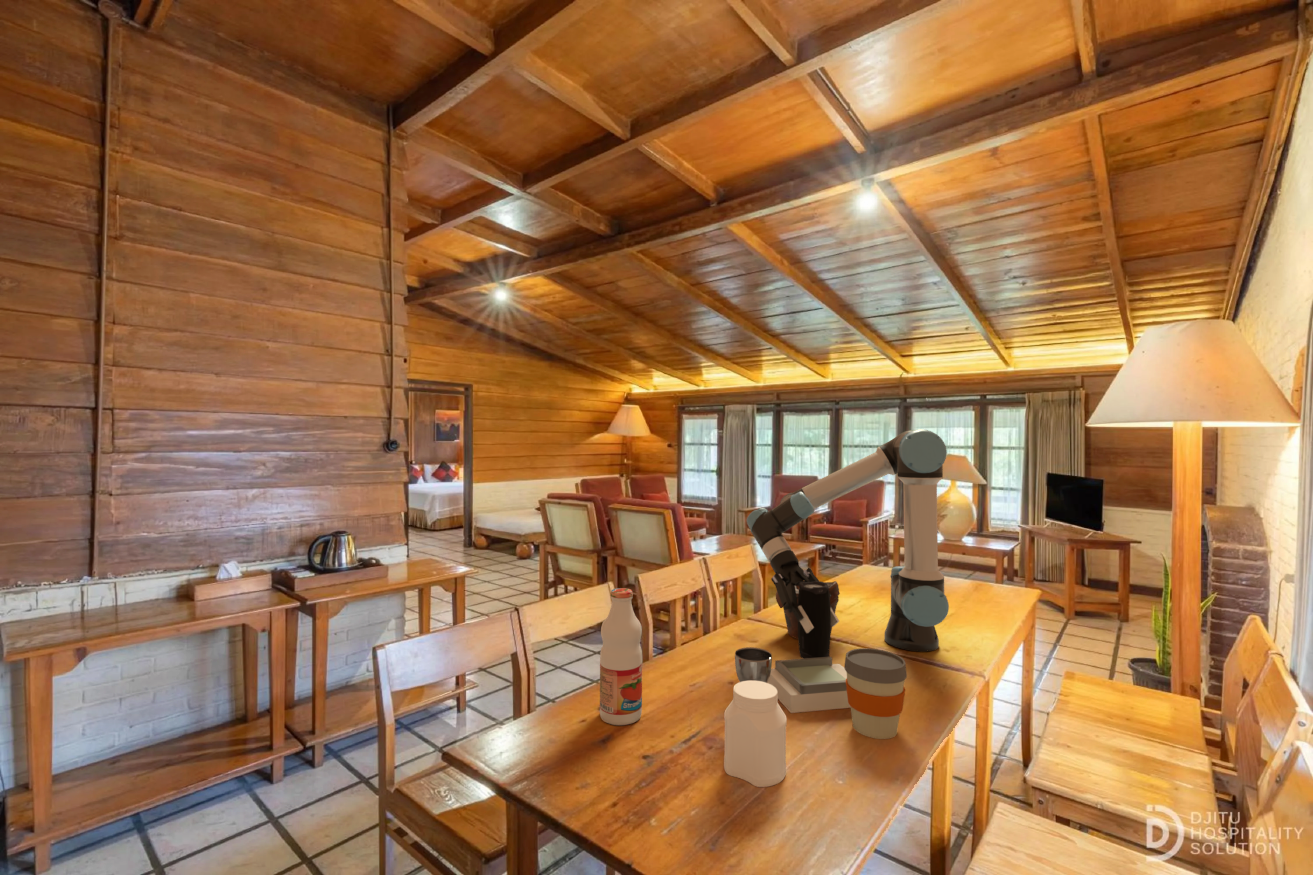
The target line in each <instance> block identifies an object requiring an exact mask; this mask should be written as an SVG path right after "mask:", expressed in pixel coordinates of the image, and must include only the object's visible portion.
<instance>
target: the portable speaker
mask: <svg viewBox="0 0 1313 875" xmlns="http://www.w3.org/2000/svg"><path fill="white" fill-rule="evenodd" d="M798 606H802V608H803V610H804V611H805V613H806V615H807V616H808V618H809V620H810V621H811V623H812V625H813V627H814V628H813V629H812V630H811V631H810V632H809V633H806V631H805V630H804V628H803V626H802V624H801V623H800V621H798V639H797V640H798V652H799V656H800V659H804V658H818V657H830V647H831V635H832V631H831V606H830V595H829V587H828V585H827V584H826V583H825V582H824V581H821V580H819V581H814V582H800V583H799V594H798Z"/></svg>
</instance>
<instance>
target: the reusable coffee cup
mask: <svg viewBox="0 0 1313 875" xmlns="http://www.w3.org/2000/svg"><path fill="white" fill-rule="evenodd" d="M906 665H907V664H906V661H905V659H904V658H903V657H901V656H900V655H898V654H896V653H894V652H891V651H887V650H883V649H877V648H854V649H850V650H848V651H847V652H846V654H845V659H844V666H843V667H844V668H845V670H846V673H847V679H846V689H847V697H848V703H849V705H850V706H851V708H850V713H851V714H850V715H851V721H852V728H853V729H854V730H855V731H856V732H857V733H859V734H860V735H863V736H865V737H869V738H873V739H877V740H884V739H885V740H887V739H892V738H894V737H896V736H897V733H898V728H899V727H898V726H899V723H900V722H899V721H900V714H902V712H903V709H904V701H905V694H906V687H905V680H906V679H907V675H908V673H907V666H906Z"/></svg>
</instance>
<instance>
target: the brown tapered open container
mask: <svg viewBox="0 0 1313 875" xmlns="http://www.w3.org/2000/svg"><path fill="white" fill-rule="evenodd" d="M783 582H784V581H783ZM803 582H805V581H803ZM825 583H826V584H827V585H828V587H829V593H830V594H831V597H830V605H831V606H832V608H833V610H834V611H833V612H834V613H835V614H836V612H837V605H838V603H839V601H840V599H839V598H840V597H839V596H840V594H841V593H840V588H839V584H838V581H836V580H835V581H832V582H831V581H827V582H825ZM784 585H785V583H784ZM795 590H796V597H797V603H798V594H799V586H795ZM775 600H776V603H777V605H778V607H779V609H783V613H784V619H785V625H786V628H787V633H788V636H790V637H792V638H793V639H796V640H798V620H797V619H796V617H795V615H794V613H793V612H789V611H788V609H787V610H785V609H784V608H783V606H782V603H781V600H780V597H779V595H778V592H777V591H776V592H775ZM832 629H833V627H832V626H831V632H832Z"/></svg>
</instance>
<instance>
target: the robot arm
mask: <svg viewBox="0 0 1313 875" xmlns="http://www.w3.org/2000/svg"><path fill="white" fill-rule="evenodd" d="M946 459H947V446H946V443H945V441H944V440H943V439H942V438H941V436H939V435H938V434H937V433H935V432H934V431H931V430H928V429H924V428H923V429H921V428H920V429H910V430H905V431H903V432H902V433H900V434H898V435H897V436H895V437H894V438H892V439H891V440H889V441H888V442H887V441H886V442H885V443H884V444H882V445H879V446H878V447H877V448H876V451H875V452H873V453H871V454H869V455H867V456H865V457H862V458H861V459H859V460H857V461H855V462H852V463H850V464H848V465H846V466H845V467H842V468H841V469H838V470H836V471H833V472H831V473H830V474H828V475H826V476H823V477H822V478H820V479H817V480H816V481H813V482H811V483H810V484H808V485H806V486H803V487H802V488H799V489H798V490H795V491H794V492H790V493H787V494H786V495H784V496H782V498H781V500H780V502H779V504H778V505H777V506H775V507H774V508H772V509H770V510H768V509H767V508H765V507H761V508H758V509H755V510H753V511H751V512H750V513H749V514H748V515H747V518H746V524H747V526H748V529H749V530H750V533H751V534H752V536H753V537H754V539H755V540H756V543H757V544H758V546H759V547H760V549H761V551H762V552H763V554H764V556H765V557H766V559H767V561H768V562H769V565H770V566H771V568H772V570H773V571H774V573H775V574H774V575H772V577H771V578H770V580H771V582H772V583H773V584H774V586H775V589H776V592H778V595H779V597H780V600H781V603H782V606H783V608H784V609H785V610H787V609H788V611H789V612H793V613H794V615H795V617H796V619H797V620H798V621H800V623H801V624H802V626H803V628H804V630H805V631H806V633H809V632H810V631H811V630H812V629H813V628H814V627H813V625H812V623H811V621H810V620H809V618H808V616H807V615H806V613H805V611H804V610H803V608H802V606H798V603H797V597H796V590H795V586H799V583H800V582H803V581H805V582H814V581H820V580H819V579H818V577H816V575H815V574H814V572H813V570H812V569H811V568H810V567H808V568H806V569H804V568H802V567H801V566H800V565H799V559H798V557H797V556H796V553H795V552H794V551H793V550H792V548H791V545H790V544H789V543H788V541H787V540H786V538H785V536H784V535H783V534H785V532H787V531H788V530H790V529H791V528H792V527H794V526H796V525H797V524H799V523H800V522H802V521H803V520H807V519H808V517H810V516H811V515H813V514H814V513H815V510H816V509H817V508H819V507H821V506H824V505H826V504H828V503H830V502H832V501H834V500H836V499H838V498H840V497H843V496H845V495H847V494H849V493H851V492H853V491H855V490H858V489H859V488H861V487H862V488H863V486H866V485H868V484H870V483H872V482H874V481H876V480H879V479H880V478H883V477H885V476H886V475H890V476H891V475H892V476H895V475H897V478H898V480H900V481H901V482H902V483H903V486H902V487H903V534H904V535H903V541H904V542H903V544H904V545H903V548H904V551H903V552H904V554H903V556H904V565H903V566H901V565H900V566H899V565H898V566H897V565H896V566H893V567H892V568H891V573H890V577H889V578H890V616H889V619H888V622H887V624H886V627H885V628H886V629H885V630H884V641H885V643H887V644H888V645H890V646H892V647H895V648H898V649H901V650H905V651H909V652H910V651H911V652H922V653H923V652H932V651H935V650H938V648H939V647H940V646H939V645H940V644H939V643H940V642H939V641H940V640H939V636H938V634H937V630H936V627H935V626H937V625H939V624H941V623H942V622H943V621H944V620H945V619H946V618H947V617H948V614H949V609H950V606H949V601H948V598H947V596H946V594H945V575H944V574H943V573H942V572H941V571H940V570H939V564H938V563H939V561H938V560H939V556H938V549H939V548H938V547H939V546H938V541H939V539H938V489H937V488H938V486H937V485H938V484H939V482H940V481H941V480H942V479H943V474H944V472H943V471H944V468H943V467H944V466H943V465H944V464H945V461H946ZM783 581H784V582H783ZM784 583H785V585H784ZM829 595H830V597H831V594H830V593H829ZM830 606H831V605H830ZM783 608H782V609H783ZM784 609H783V610H784ZM833 611H834V610H833V608H832V606H831V626H832V628H834V627H835V626H836V625H837V624H838V623H839V622H840V620H839V618H838V617H837V615H836V612H835V613H834V612H833Z"/></svg>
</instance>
